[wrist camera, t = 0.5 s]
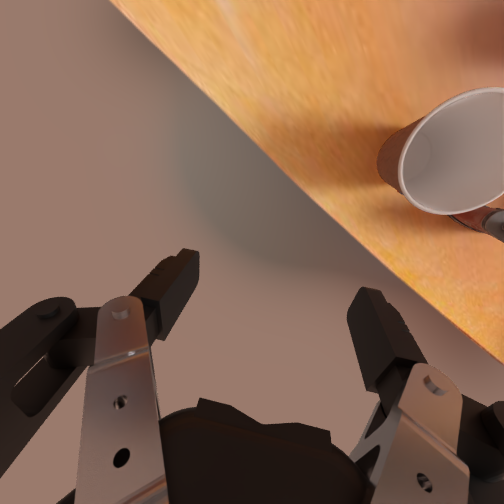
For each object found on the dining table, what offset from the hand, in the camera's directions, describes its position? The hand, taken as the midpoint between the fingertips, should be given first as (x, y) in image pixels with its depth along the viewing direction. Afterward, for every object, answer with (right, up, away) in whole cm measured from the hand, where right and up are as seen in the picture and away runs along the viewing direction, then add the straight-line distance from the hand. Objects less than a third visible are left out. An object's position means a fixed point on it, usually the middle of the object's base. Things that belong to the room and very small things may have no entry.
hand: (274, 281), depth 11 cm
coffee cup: (+20, +15, +19) cm, 31 cm away
